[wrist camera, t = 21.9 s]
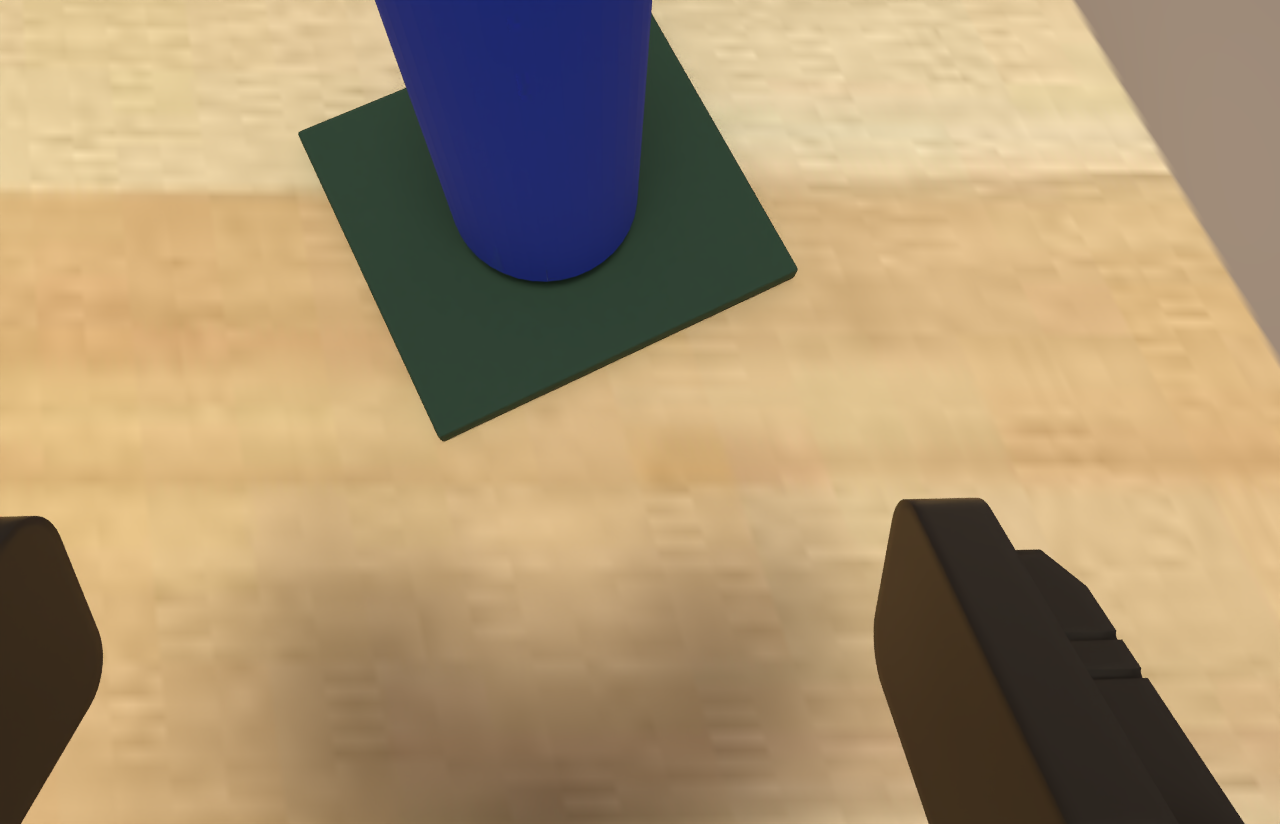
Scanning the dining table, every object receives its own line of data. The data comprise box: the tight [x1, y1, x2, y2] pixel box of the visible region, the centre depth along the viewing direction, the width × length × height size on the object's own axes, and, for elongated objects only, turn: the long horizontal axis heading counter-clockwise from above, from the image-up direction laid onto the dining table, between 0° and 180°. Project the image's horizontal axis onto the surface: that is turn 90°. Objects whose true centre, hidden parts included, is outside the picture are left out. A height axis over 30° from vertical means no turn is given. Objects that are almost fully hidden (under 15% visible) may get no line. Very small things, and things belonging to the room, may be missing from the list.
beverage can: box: [375, 0, 652, 282], centre depth 19 cm, size 5×5×15 cm
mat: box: [298, 13, 798, 441], centre depth 27 cm, size 11×10×1 cm
